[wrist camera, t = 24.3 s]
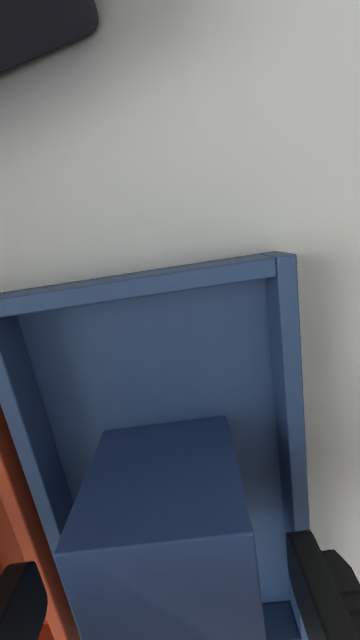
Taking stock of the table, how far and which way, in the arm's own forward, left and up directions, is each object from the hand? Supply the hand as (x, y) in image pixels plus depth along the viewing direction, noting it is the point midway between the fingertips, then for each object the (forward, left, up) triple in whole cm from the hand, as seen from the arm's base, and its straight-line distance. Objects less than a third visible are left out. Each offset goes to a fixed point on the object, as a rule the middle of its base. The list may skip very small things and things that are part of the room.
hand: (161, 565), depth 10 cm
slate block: (0, 0, -3) cm, 4 cm away
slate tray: (0, 0, -4) cm, 4 cm away
